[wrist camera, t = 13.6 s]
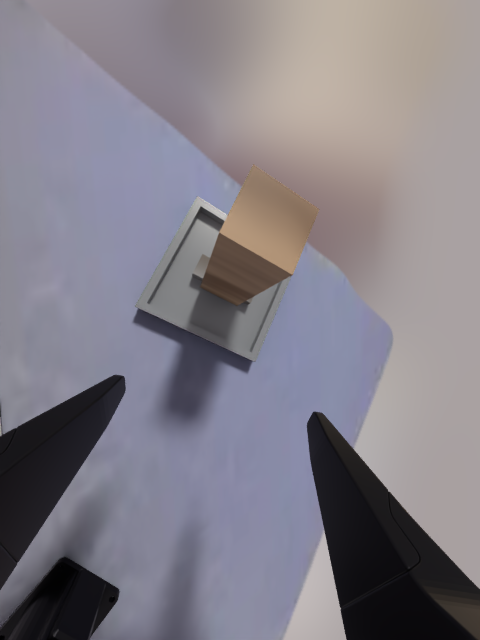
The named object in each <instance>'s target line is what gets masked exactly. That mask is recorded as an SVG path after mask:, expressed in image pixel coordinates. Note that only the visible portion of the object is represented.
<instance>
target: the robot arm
mask: <svg viewBox="0 0 480 640" xmlns="http://www.w3.org/2000/svg"><path fill="white" fill-rule="evenodd" d="M125 390H126V387H125V377H124V376H121V375H113V376H111V377H109V378H107V379H105V380H104V381H102V382H100V383H98V384H96V385H94V386H92V387H91V388H89V389H87V390H85V391H83V392H81V393H80V394H78V395H76V396H74V397H72V398H70V399H68V400H67V401H65V402H63V403H61V404H59V405H57V406H55V407H54V408H52V409H50V410H48V411H46V412H44V413H42V414H41V415H39V416H37V417H35V418H33V419H31V420H29V421H28V422H26V423H24V424H22V425H20V426H18V427H17V428H14V429H13V430H11V431H9V432H7V433H5V434H3V435H1V436H0V590H1V588H2V587H3V585H4V584H5V582H6V581H7V579H8V577H9V576H10V574H11V573H12V571H13V570H14V568H15V567H16V565H17V562H19V560H20V559H21V557H22V556H23V554H24V553H25V551H26V550H27V548H28V547H29V545H30V544H31V542H32V541H33V539H34V538H35V536H36V534H37V533H38V531H39V530H40V528H41V527H42V525H43V524H44V522H45V521H46V519H47V518H48V516H49V515H50V513H51V512H52V510H53V509H54V507H55V506H56V504H57V502H58V501H59V499H60V498H61V496H62V495H63V493H64V492H65V490H66V489H67V487H68V486H69V484H70V483H71V481H72V480H73V478H74V477H75V475H76V473H77V472H78V470H79V469H80V467H81V466H82V464H83V463H84V461H85V460H86V458H87V457H88V455H89V454H90V452H91V451H92V449H93V448H94V446H95V445H96V443H97V441H98V440H99V438H100V437H101V435H102V434H103V432H104V431H105V429H106V428H107V426H108V424H109V422H110V420H111V419H112V417H113V415H114V413H115V411H116V409H117V407H118V405H119V403H120V401H121V399H122V397H123V396H124V393H125ZM307 432H308V442H309V452H310V460H311V466H312V471H313V476H314V481H315V486H316V491H317V496H318V501H319V506H320V511H321V516H322V520H323V525H324V530H325V535H326V540H327V545H328V550H329V555H330V560H331V565H332V570H333V575H334V580H335V584H336V589H337V594H338V599H339V604H340V607H341V615H342V619H343V624H344V629H345V634H346V639H347V640H480V589H479V588H478V587H477V586H476V585H475V584H474V583H473V582H472V581H471V580H470V579H469V578H468V577H467V576H466V575H465V574H464V573H463V572H462V571H461V570H460V569H459V568H458V566H457V565H456V564H455V563H454V562H453V561H452V560H451V559H450V558H449V557H448V556H447V555H446V554H445V552H444V551H443V550H442V549H441V548H440V547H439V546H438V545H437V544H436V543H435V542H434V541H433V540H432V539H431V538H430V537H429V536H428V534H427V533H426V532H425V531H424V530H423V529H422V528H421V527H420V526H419V525H418V524H417V522H415V520H414V519H413V518H412V517H411V516H410V515H409V514H408V513H407V511H406V510H405V509H404V508H403V507H402V506H401V504H400V503H399V502H398V501H397V500H396V499H395V497H394V496H393V495H392V494H391V493H390V492H388V489H387V488H386V487H385V486H384V485H383V483H382V482H381V481H380V480H379V479H378V478H377V476H376V475H375V474H374V473H373V472H372V470H371V469H370V468H369V467H368V466H367V465H366V463H365V462H364V461H363V460H362V459H361V458H360V456H359V455H358V454H357V453H356V452H355V450H354V449H353V448H352V447H351V446H350V445H349V443H348V442H347V441H346V440H345V439H344V438H343V436H342V435H341V434H340V433H339V432H338V430H337V429H336V428H335V427H334V426H333V425H332V423H331V422H330V421H329V420H328V419H327V418H326V416H325V415H324V414H323V413H320V412H313V413H312V415H311V417H310V419H309V421H308V423H307ZM60 565H63V567H60ZM112 596H114V597H112ZM118 597H119V589H118V588H116V587H115V586H113V585H111V584H110V583H108V582H106V581H105V580H103V579H102V578H100V577H98V576H97V575H95V574H93V573H92V572H90V571H88V570H87V569H85V568H83V567H82V566H80V565H78V564H77V563H75V562H74V561H72V560H70V559H69V558H66V557H63V558H61V559H59V560H58V561H57V562H56V563H55V565H54V566H53V567H52V568H51V569H50V571H49V572H48V573H47V574H46V575H45V576H44V578H43V579H42V580H41V581H40V582H39V583H38V585H37V586H36V587H35V588H34V589H33V591H32V592H31V593H30V594H29V595H28V596H27V598H26V599H25V600H24V601H23V602H22V603H21V605H20V606H19V607H18V608H17V609H16V611H15V612H14V613H13V614H12V615H11V616H10V618H9V619H8V620H7V621H6V622H5V623H4V625H3V626H2V627H1V628H0V640H89V639H90V637H91V636H92V634H93V633H94V632H95V630H96V629H97V628H98V626H99V625H100V624H101V622H102V621H103V620H104V618H105V617H106V615H107V614H108V613H109V611H110V610H111V609H112V607H113V606H114V605H115V603H116V602H117V600H118ZM2 635H4V636H2Z"/></svg>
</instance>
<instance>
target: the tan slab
mask: <svg viewBox="0 0 480 640" xmlns="http://www.w3.org/2000/svg"><path fill="white" fill-rule="evenodd" d="M318 211H319V209H318V208H317V207H315V206H314V205H312V204H311V203H309V202H308V201H306V200H305V199H303V198H302V197H300V196H299V195H298V194H296V193H295V192H293V191H292V190H290V189H289V188H287V187H286V186H284V185H283V184H281V183H280V182H278V181H277V180H276V179H274V178H273V177H271V176H269V175H268V174H267V173H265V172H264V171H262V170H261V169H259V168H258V167H256V166H255V165H253V166H252V168H251V170H250V172H249V174H248V176H247V178H246V180H245V182H244V184H243V186H242V188H241V190H240V192H239V194H238V196H237V198H236V200H235V202H234V204H233V206H232V208H231V210H230V212H229V214H228V216H227V218H226V220H225V222H224V224H223V226H222V228H221V230H220V232H219V234H218V237H217V240H216V243H215V246H214V249H213V251H212V254H211V257H210V258H209V257H207V256H206V255H204V254H202V256H201V258H200V260H199V262H198V264H197V266H196V268H195V270H194V272H193V274H192V277H194V278H196V279H198V280H200V281H202V283H201V286H200V288H202V289H204V290H206V291H208V292H210V293H212V294H214V295H216V296H218V297H220V298H222V299H224V300H226V301H228V302H230V303H232V304H234V305H236V306H238V305H239V304H241V303H245V304H247V305H248V304H250V303H251V301H252V299H253V297H254V296H256V295H257V294H259V293H261V292H263V291H265V290H266V289H268V288H270V287H272V286H274V285H275V284H277V283H279V282H281V281H283V280H284V279H286V278H288V277H290V276H292V275H293V273H294V270H295V268H296V265H297V263H298V261H299V258H300V256H301V253H302V251H303V248H304V246H305V243H306V241H307V238H308V236H309V233H310V231H311V228H312V225H313V223H314V221H315V219H316V216H317V214H318Z"/></svg>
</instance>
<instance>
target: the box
mask: <svg viewBox="0 0 480 640" xmlns="http://www.w3.org/2000/svg"><path fill="white" fill-rule="evenodd" d="M227 216H228V215H227V214H225V213H224V212H222V211H220V210H219V209H217V208H215V207H214V206H212V205H211V204H209V203H207V202H206V201H204V200H203V199H201V198H199V197H198V196H197V198H196V199H195V201H194V203H193V205H192V206H191V208H190V210H189V212H188V214H187V215H186V217H185V219H184V221H183V222H182V224H181V226H180V228H179V229H178V231H177V233H176V235H175V236H174V238H173V240H172V242H171V243H170V245H169V247H168V249H167V250H166V252H165V254H164V256H163V258H162V259H161V261H160V263H159V265H158V266H157V268H156V270H155V272H154V273H153V275H152V277H151V279H150V280H149V282H148V284H147V286H146V287H145V289H144V291H143V293H142V294H141V296H140V298H139V300H138V302H137V303H136V305H135V307H137V308H139V309H141V310H143V311H145V312H147V313H149V314H151V315H154V316H156V317H158V318H160V319H162V320H164V321H167V322H169V323H171V324H173V325H175V326H177V327H180V328H182V329H184V330H186V331H188V332H190V333H193V334H195V335H197V336H199V337H201V338H203V339H206V340H208V341H210V342H212V343H214V344H216V345H219V346H221V347H223V348H225V349H227V350H229V351H232V352H234V353H236V354H238V355H240V356H242V357H245V358H247V359H249V360H251V361H254V362H255V361H256V359H257V356H258V354H259V352H260V349H261V347H262V345H263V342H264V340H265V338H266V335H267V333H268V330H269V328H270V326H271V323H272V321H273V319H274V316H275V314H276V311H277V309H278V307H279V304H280V302H281V300H282V297H283V295H284V292H285V290H286V288H287V285H288V283H289V281H290V278H291V276H290V277H288V278H286V279H284V280H283V281H281V282H279V283H277V284H275V285H274V286H272V287H270V288H268V289H266V290H265V291H263V292H261V293H259V294H257V295H256V296H254V297H253V299H252V301H251V303H250V304H248V305H247V304H245V303H241V304H239V305H238V306H236V305H234V304H232V303H230V302H228V301H226V300H224V299H222V298H220V297H218V296H216V295H214V294H212V293H210V292H208V291H206V290H204V289H202V288H200V286H201V283H202V281H200V280H198V279H196V278H194V277H192V274H193V272H194V270H195V268H196V266H197V264H198V262H199V260H200V258H201V256H202V254H204V255H206V256H207V257H209V258H210V257H211V254H212V251H213V249H214V246H215V243H216V240H217V237H218V234H219V232H220V230H221V228H222V226H223V224H224V222H225V220H226V218H227Z"/></svg>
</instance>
